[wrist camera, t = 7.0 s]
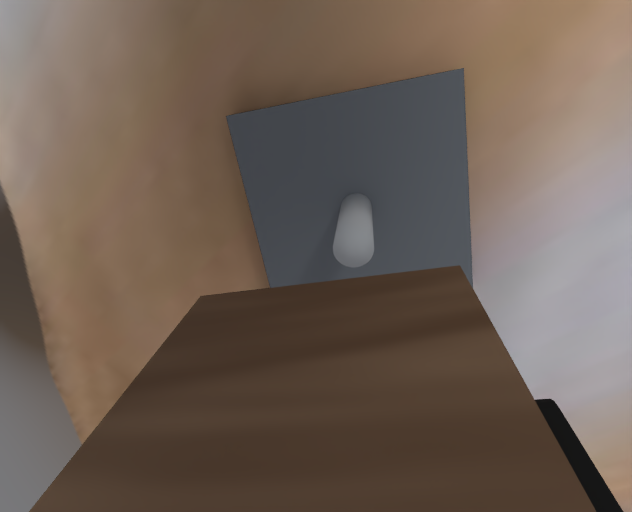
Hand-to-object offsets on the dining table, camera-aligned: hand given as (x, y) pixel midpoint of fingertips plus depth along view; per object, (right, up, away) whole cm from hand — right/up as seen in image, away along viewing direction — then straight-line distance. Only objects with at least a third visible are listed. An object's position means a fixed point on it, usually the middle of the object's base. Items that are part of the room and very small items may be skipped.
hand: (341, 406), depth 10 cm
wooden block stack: (0, 0, +1) cm, 1 cm away
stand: (+2, +7, +17) cm, 19 cm away
